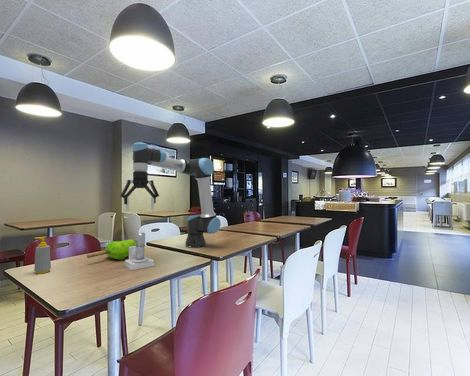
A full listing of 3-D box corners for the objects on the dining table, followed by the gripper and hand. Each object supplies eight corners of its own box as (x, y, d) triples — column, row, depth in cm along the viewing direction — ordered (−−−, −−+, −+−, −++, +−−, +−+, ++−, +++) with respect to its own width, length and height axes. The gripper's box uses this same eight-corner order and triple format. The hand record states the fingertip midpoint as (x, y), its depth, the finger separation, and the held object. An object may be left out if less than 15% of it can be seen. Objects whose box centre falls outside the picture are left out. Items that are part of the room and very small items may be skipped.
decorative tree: (80, 245, 151) (129, 236, 175) (81, 263, 151) (129, 252, 175) (95, 249, 140) (144, 239, 164) (95, 268, 140) (144, 256, 164)
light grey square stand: (146, 261, 151) (146, 244, 151) (154, 266, 142) (154, 247, 142) (124, 265, 143) (125, 247, 144) (131, 270, 134) (131, 251, 135)
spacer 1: (146, 246, 142) (146, 233, 142) (137, 247, 139) (137, 234, 139) (143, 244, 145) (143, 232, 145) (134, 245, 142) (134, 233, 143)
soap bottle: (33, 271, 133) (33, 236, 133) (50, 269, 137) (50, 235, 137) (34, 275, 127) (34, 238, 128) (51, 272, 132) (51, 236, 132)
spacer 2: (145, 259, 142) (145, 246, 142) (136, 260, 139) (137, 247, 139) (142, 257, 145) (142, 244, 145) (134, 258, 142) (134, 245, 142)
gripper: (159, 172, 153) (159, 208, 153) (114, 170, 138) (114, 210, 137) (164, 171, 147) (164, 209, 147) (118, 169, 132) (118, 211, 131)
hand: (140, 210), depth 142 cm, fingers open, 13 cm apart
